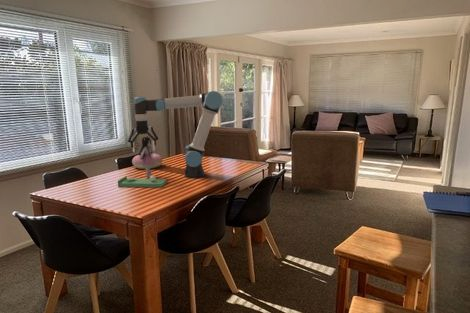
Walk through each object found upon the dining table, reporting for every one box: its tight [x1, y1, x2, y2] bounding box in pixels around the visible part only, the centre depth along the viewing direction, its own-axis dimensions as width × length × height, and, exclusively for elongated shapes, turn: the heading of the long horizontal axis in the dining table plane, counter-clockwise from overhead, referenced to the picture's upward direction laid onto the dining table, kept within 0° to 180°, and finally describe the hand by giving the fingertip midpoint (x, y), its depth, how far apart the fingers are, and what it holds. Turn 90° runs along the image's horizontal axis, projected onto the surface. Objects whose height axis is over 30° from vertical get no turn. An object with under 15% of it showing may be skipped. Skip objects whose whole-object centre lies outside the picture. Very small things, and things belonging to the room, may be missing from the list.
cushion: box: [131, 153, 164, 170], centre depth 277 cm, size 25×25×10 cm
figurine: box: [138, 135, 155, 178], centre depth 243 cm, size 22×10×30 cm, turn 168°
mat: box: [117, 175, 168, 188], centre depth 224 cm, size 30×12×4 cm, turn 84°
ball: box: [149, 174, 157, 181], centre depth 223 cm, size 4×4×4 cm
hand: (144, 151), depth 226 cm, fingers open, 13 cm apart
